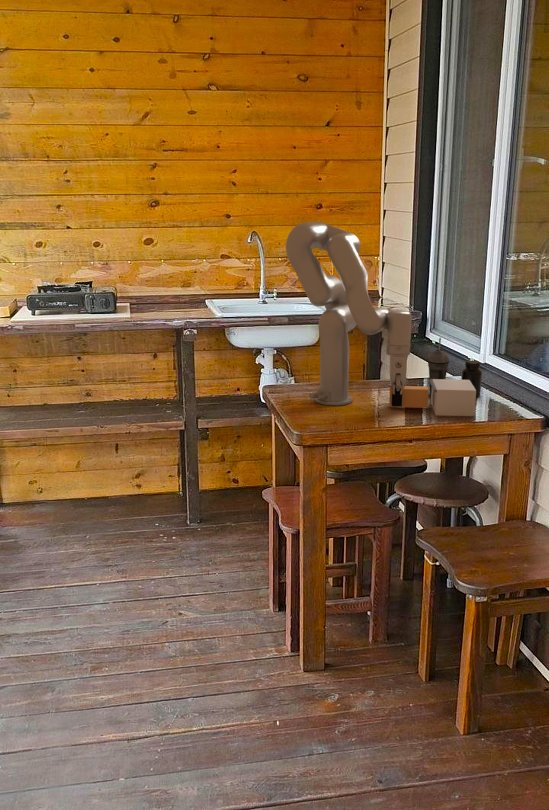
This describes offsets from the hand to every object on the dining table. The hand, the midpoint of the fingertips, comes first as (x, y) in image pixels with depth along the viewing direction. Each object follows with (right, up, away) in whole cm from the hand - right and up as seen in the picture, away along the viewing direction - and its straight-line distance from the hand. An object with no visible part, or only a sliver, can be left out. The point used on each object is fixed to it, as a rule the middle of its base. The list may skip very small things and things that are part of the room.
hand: (395, 402), depth 243 cm
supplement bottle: (+28, +2, +16) cm, 32 cm away
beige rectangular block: (+18, -2, -1) cm, 18 cm away
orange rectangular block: (+4, -1, 0) cm, 4 cm away
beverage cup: (+17, +3, +18) cm, 25 cm away
